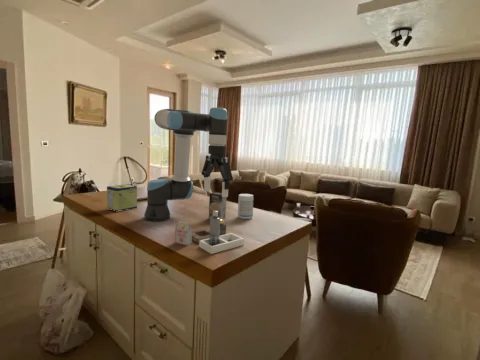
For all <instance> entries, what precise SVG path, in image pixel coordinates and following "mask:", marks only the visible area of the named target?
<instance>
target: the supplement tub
mask: <svg viewBox="0 0 480 360" xmlns="http://www.w3.org/2000/svg"><path fill="white" fill-rule="evenodd" d="M237 201H238V202H237V218H239V219H241V220H250V219H252V218H253V215H254V214H253V213H254V194H252V193H251V194H250V193H240V194H238V200H237Z"/></svg>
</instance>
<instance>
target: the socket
mask: <svg viewBox="0 0 480 360" xmlns="http://www.w3.org/2000/svg"><path fill="white" fill-rule="evenodd" d="M209 234H210V228H207V227H205V228H201V229H197V230H196V229H195V230H192V242H193V241H194V242H195V243H196V244H199V240H203V239H208V238H209ZM225 234H227V224H226V223H224V224H222V225H220V236H221V235H225Z"/></svg>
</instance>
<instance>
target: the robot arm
mask: <svg viewBox="0 0 480 360" xmlns="http://www.w3.org/2000/svg"><path fill="white" fill-rule="evenodd" d="M153 117H154V122H155V124H156V126H158V127H159V128H160V129H163V130H167V131H173V135H175V150H174V165H173V166H174V168H173V169H174V170H173V176H171V178H170V180H168V178H157V179H152V180H149V181H148V182H147V187H146V190H147V191H146V193H147V199H146V200H147V201H146V202H147V204H146V205H147V206H146V209H145V212H144V214H143V215H144V217H143V218H144V219H143V220H145V221H147V222H162V221H163V222H164V221H167V220H170V219H171V212H170V208H169V206H168V203H169V202H168V201H177V200H178V201H180V200H182V201H183V200H189V199H190V198H191V197H192V195H193V193H194V183H193V181H192V180H191V177H190V176H189V170H190V153H191V139H192V137H193V136H194V133H195V132H197V131H198V132H204V133H205V132H207V133H208V143H207V144H209V145H208V151H207V153H208V155H206V156H205V161H204V164H203V167H202V170H201V174H200V175H201V176H203V177H204V178H203V184H204V185H203V191H204V192H205V193H206V192H211V175H212V172H213V170H214V169H215V168H217V169H218V170H219V172H220V175H221V177H222V186H221V188H222V189H221V193H222V197H227V198H228V197H229V189H230V182H231V181H233V180H234V177H233V174H232V170H231V165H230V158H229V157H224V156H225V155H226V154H227V146H226V145H227V134H228V133H227V131H228V129H227V128H228V119H229V118H228V110H227V109H226V108H224V107H211V108H210V109H209V113H208V114H207V113H197V112H195V111H191V110H183V109H173V108H164V109H160V110H158V111H157V112H156V113H155V115H154V116H153Z"/></svg>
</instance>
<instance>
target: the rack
mask: <svg viewBox="0 0 480 360" xmlns="http://www.w3.org/2000/svg"><path fill="white" fill-rule="evenodd" d="M244 245H245V238H243V237H241V236H239V235H237V234H235V233H234V232H230V233H226V234H225V235H220V237H219V244H218V245H214V246H211V245H209V238H208V239H203V240H199V243H198V246H199V248H201V249H202V250H204V251H205V252H207V253H209V254H210V255H213V254H215V253H220V252H224V251H227V250H230V249H233V248H237V247H241V246H244Z"/></svg>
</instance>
